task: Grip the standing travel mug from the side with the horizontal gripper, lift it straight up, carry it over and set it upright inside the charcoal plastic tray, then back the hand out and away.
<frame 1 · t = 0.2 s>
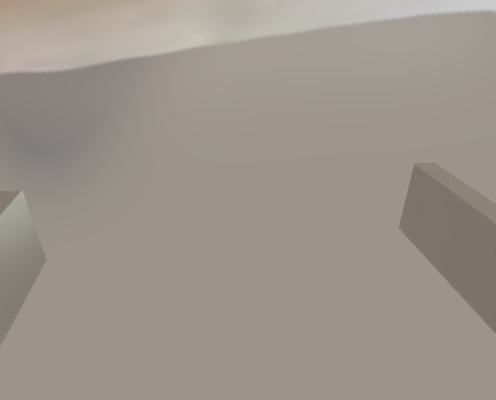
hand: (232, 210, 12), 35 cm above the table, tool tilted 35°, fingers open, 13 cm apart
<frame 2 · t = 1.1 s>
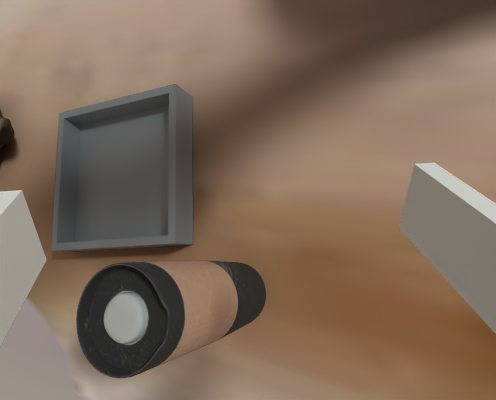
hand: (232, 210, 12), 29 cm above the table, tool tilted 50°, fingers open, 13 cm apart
parts tray: (131, 177, 51), on the table
travel mug: (238, 293, 42), on the table
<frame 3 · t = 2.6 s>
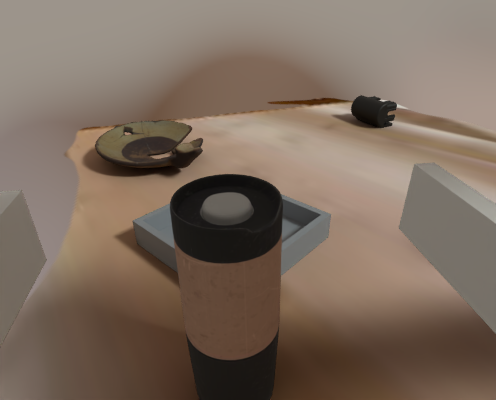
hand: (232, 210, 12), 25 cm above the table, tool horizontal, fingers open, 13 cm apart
parts tray: (233, 240, 53), on the table
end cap: (371, 124, 101), on the table
oil lamp: (154, 163, 79), on the table
travel mug: (235, 385, 34), on the table
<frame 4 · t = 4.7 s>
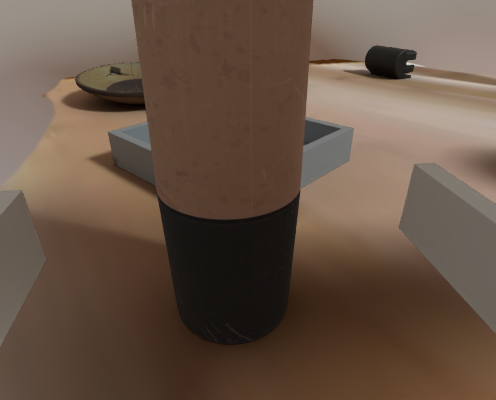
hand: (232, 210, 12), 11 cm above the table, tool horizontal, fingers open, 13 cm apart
parts tray: (232, 162, 43), on the table
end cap: (386, 77, 91), on the table
oil lamp: (144, 103, 69), on the table
travel mug: (232, 302, 24), on the table
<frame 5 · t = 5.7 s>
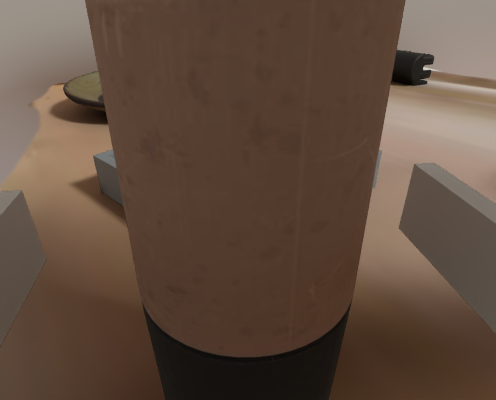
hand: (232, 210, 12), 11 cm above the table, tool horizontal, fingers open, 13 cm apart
parts tray: (239, 189, 37), on the table
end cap: (401, 82, 85), on the table
oil lamp: (139, 113, 63), on the table
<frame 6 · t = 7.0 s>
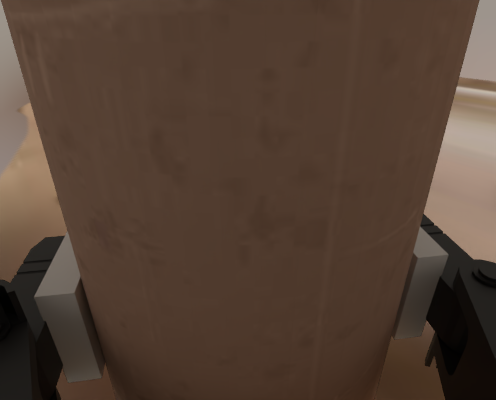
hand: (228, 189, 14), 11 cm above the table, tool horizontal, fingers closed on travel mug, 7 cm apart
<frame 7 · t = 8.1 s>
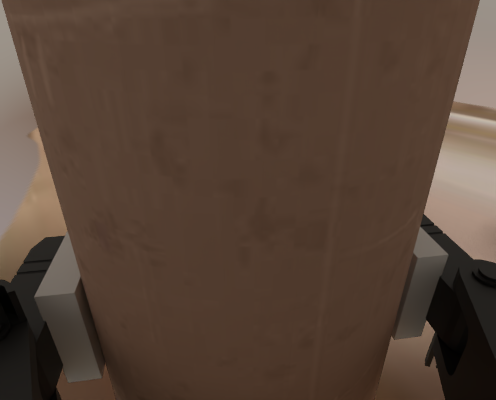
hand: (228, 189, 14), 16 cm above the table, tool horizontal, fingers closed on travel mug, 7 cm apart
when the fingers open (14 cm above the table, at t = 13.7 s): travel mug drops 2 cm, resting on parts tray.
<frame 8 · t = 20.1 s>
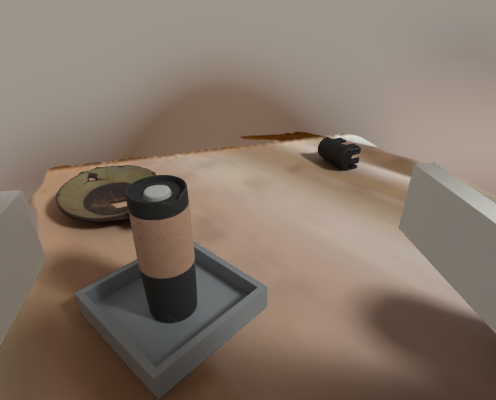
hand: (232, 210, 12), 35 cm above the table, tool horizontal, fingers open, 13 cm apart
parts tray: (174, 309, 55), on the table
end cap: (336, 165, 102), on the table
oil lamp: (116, 212, 80), on the table
travel mug: (174, 306, 54), point 1 cm above the table, touching parts tray
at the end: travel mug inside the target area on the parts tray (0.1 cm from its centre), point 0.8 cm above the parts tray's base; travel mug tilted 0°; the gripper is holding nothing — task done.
